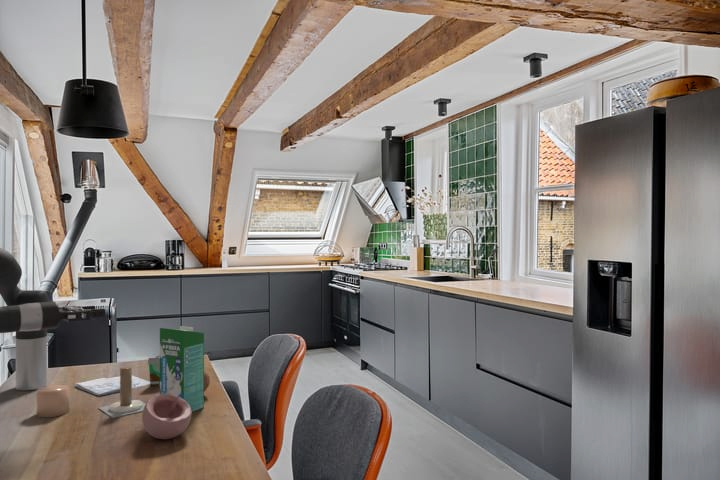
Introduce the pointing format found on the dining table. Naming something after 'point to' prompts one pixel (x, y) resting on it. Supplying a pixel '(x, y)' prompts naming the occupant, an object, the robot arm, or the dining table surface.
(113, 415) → the mat
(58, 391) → the canister
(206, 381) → the onion
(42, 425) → the dining table surface
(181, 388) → the milk carton
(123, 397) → the beige piece
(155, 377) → the food container
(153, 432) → the pink rounded bowl
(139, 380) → the folded bicycle print towel
